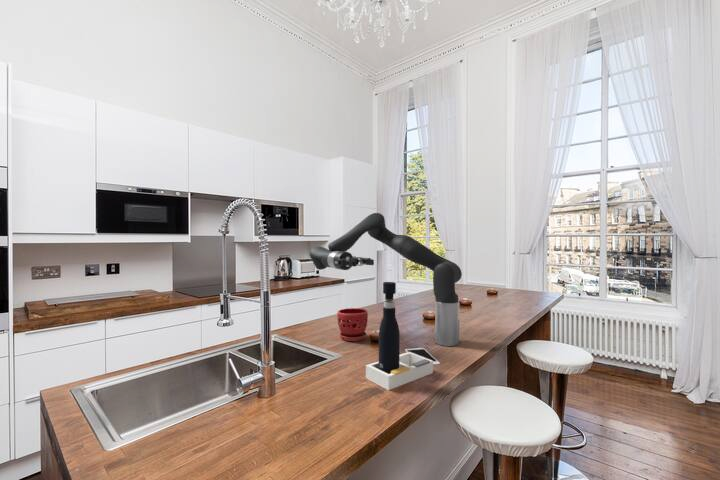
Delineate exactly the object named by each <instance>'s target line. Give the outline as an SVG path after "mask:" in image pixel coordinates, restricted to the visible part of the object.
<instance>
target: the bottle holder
mask: <svg viewBox="0 0 720 480" xmlns="http://www.w3.org/2000/svg"><path fill="white" fill-rule="evenodd" d="M433 373H434V365H433V361H432V360H430V359H427V358H425V357H422V356H419V355H417V354H414V353H411V352H405V353H404V352H403V353H401V354H399V368H398V369H395V370H392V371H391V374H388V373H385V372H383V371H381V370H379V360H378V361H374V362H372V363H369V364H366V365H365V379H367V380H368V381H371V382H373V383H374V384H376V385H378V386H380V387H382V388H383V389H385V390H388V391H390V390H393V389H396V388H398V387H401V386H403V385H406V384H408V383H410V382H413V381H417V380H418V379H421V378H423V377H426V376H428V375H432V374H433Z"/></svg>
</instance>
